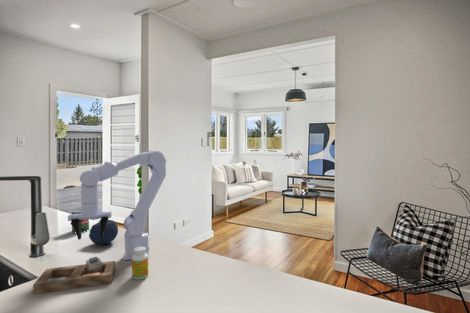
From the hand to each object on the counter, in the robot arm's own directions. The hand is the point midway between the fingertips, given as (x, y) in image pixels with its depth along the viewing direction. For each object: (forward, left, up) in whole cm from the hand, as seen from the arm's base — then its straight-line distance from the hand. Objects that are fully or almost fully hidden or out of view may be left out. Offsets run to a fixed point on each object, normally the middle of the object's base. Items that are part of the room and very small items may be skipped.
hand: (91, 237), depth 105 cm
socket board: (+2, +12, -10) cm, 16 cm away
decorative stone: (-1, -22, -11) cm, 24 cm away
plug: (-3, +12, -10) cm, 16 cm away
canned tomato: (+14, -46, -11) cm, 49 cm away
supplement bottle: (-18, +15, -11) cm, 26 cm away
